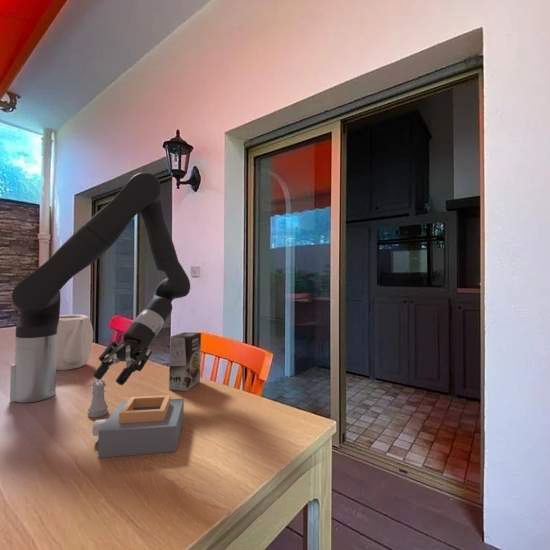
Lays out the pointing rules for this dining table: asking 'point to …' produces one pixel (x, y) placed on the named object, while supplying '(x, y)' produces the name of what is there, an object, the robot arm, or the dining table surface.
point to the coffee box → (184, 361)
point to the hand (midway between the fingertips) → (107, 380)
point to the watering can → (73, 341)
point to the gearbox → (141, 427)
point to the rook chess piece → (98, 400)
